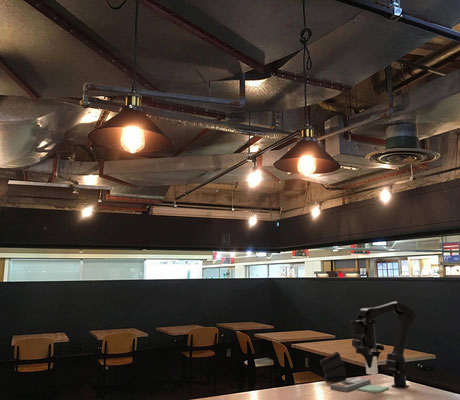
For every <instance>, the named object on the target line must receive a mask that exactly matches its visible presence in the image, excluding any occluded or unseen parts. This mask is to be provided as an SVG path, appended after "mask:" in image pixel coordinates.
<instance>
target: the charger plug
mask: <svg viewBox="0 0 460 400" xmlns="http://www.w3.org/2000/svg"><path fill="white" fill-rule="evenodd" d="M364 360H365V359H364ZM365 371H366V374H367V375H373V376H375V375H377V374H379V369H378V360H377V356H373V360H372V365H371V368H368V365H367V363H366V360H365Z"/></svg>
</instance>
